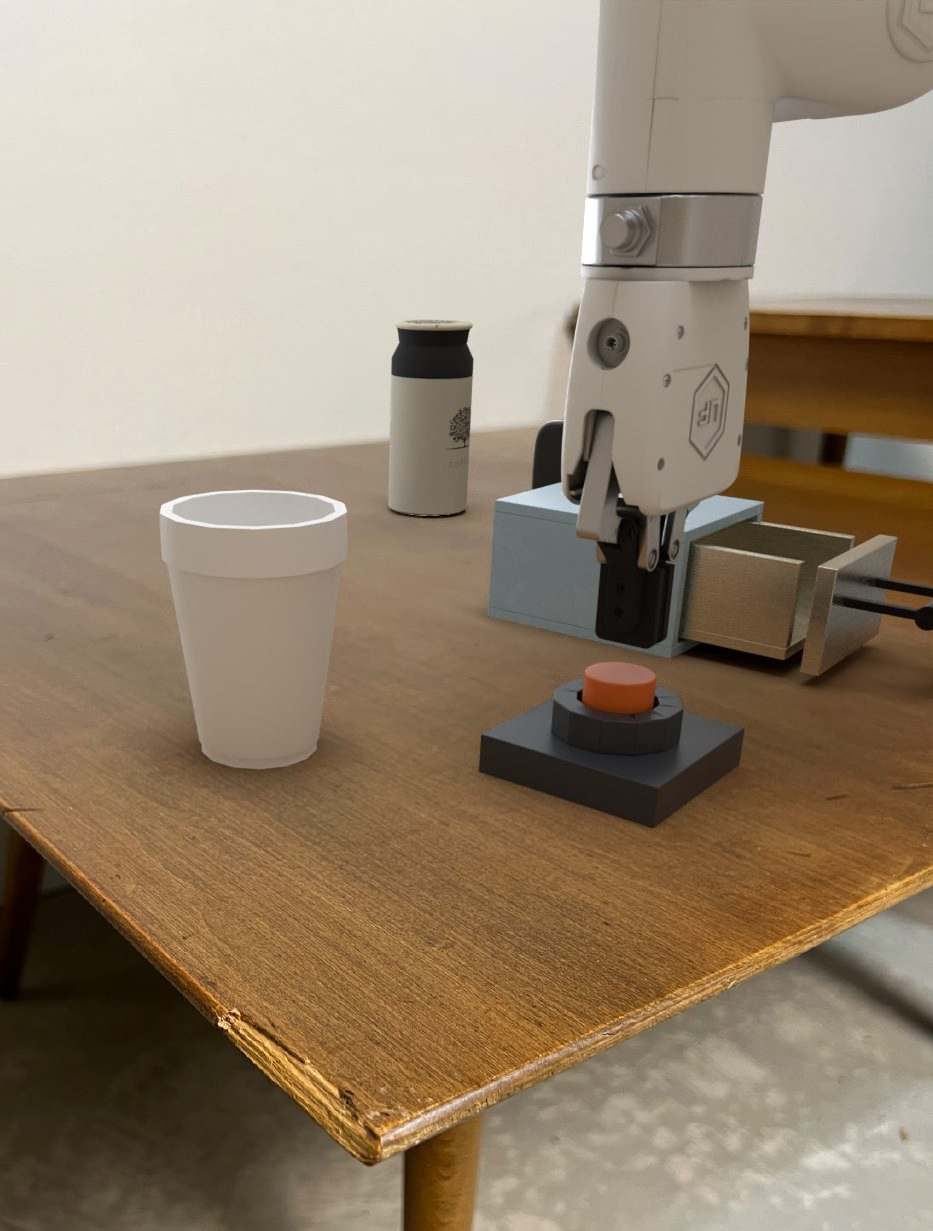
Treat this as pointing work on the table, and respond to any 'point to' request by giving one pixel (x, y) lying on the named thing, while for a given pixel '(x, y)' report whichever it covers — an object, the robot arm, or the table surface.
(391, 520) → the table surface
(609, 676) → the button
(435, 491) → the travel mug
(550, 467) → the battery charger
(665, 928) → the table surface
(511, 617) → the light blue drawer box
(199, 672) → the foam cup
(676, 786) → the control block
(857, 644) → the metal drawer
